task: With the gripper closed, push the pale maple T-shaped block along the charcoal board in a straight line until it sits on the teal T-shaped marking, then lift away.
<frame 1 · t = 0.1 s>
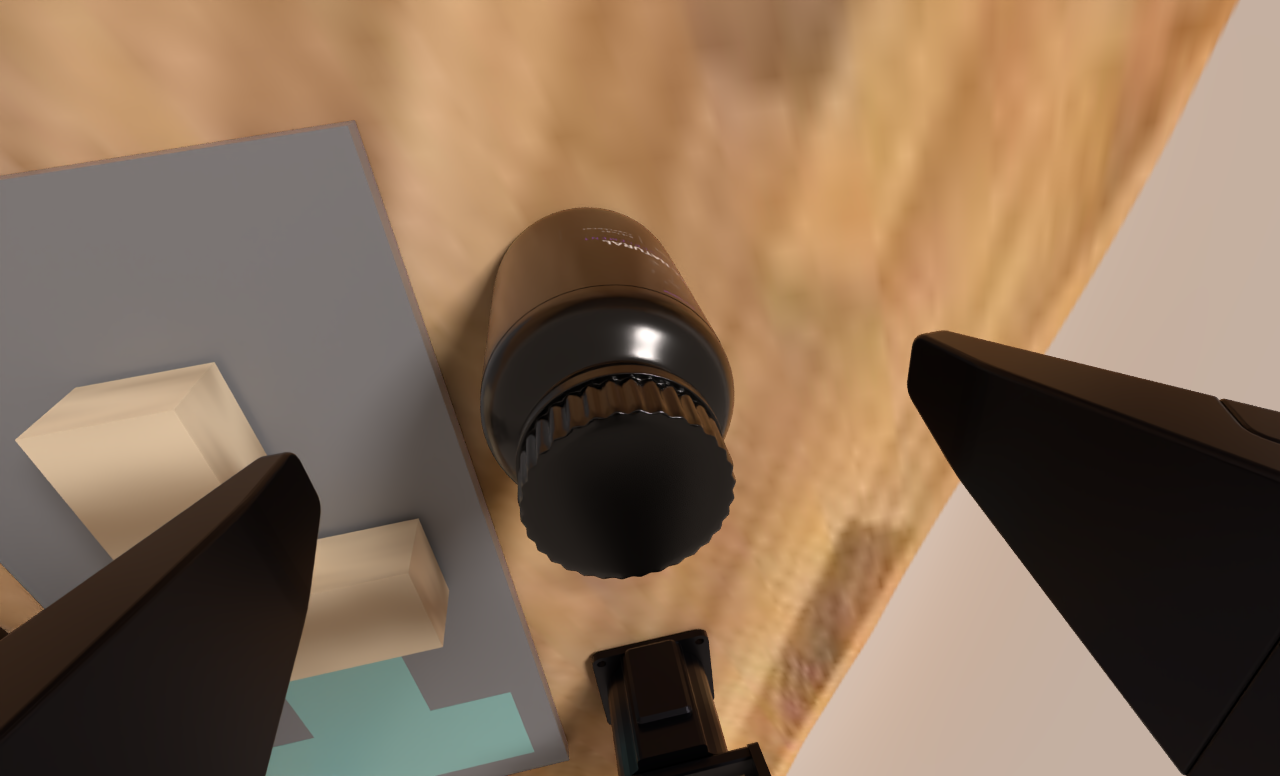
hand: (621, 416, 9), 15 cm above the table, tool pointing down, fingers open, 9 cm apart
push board: (297, 577, 28), on the table
maple T-block: (238, 510, 25), point 1 cm above the table, touching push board
supplement bottle: (583, 290, 24), on the table
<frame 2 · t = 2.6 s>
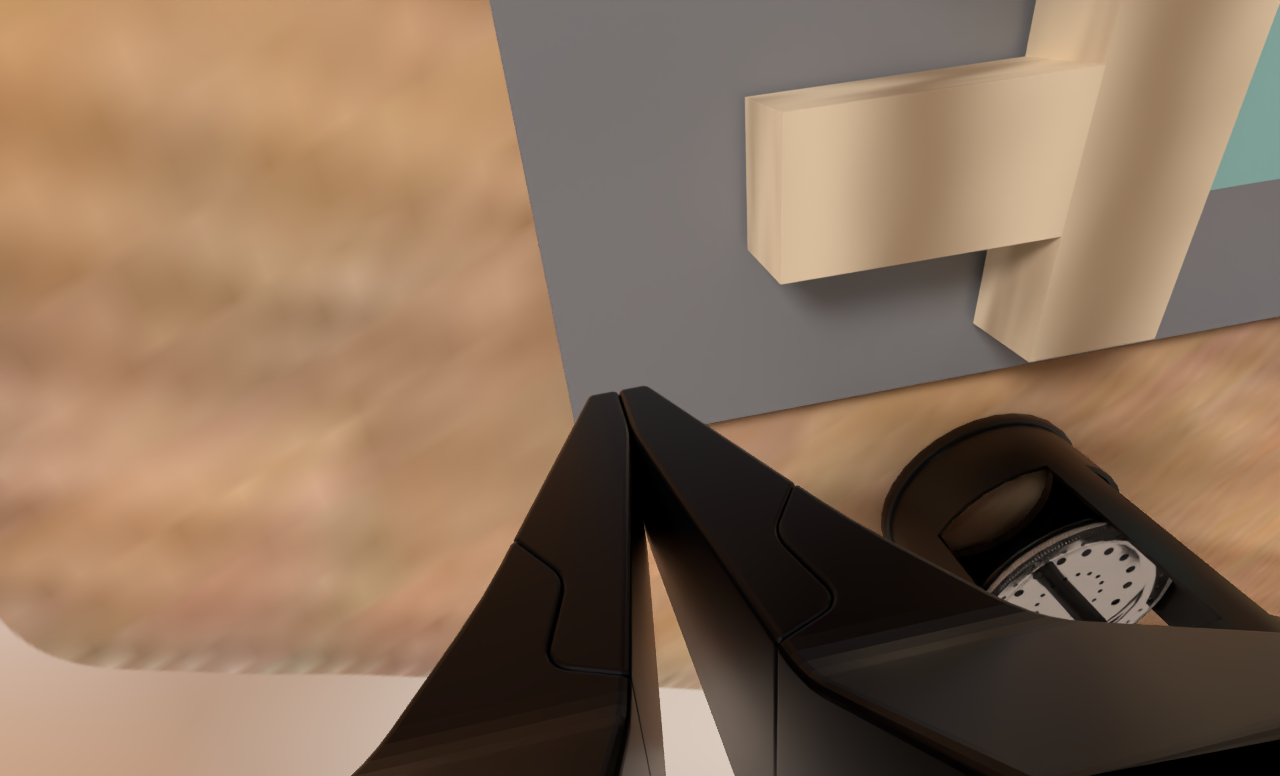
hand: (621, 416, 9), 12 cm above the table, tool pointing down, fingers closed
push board: (1067, 117, 21), on the table
maple T-block: (943, 144, 20), point 1 cm above the table, touching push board
french press: (980, 492, 30), on the table
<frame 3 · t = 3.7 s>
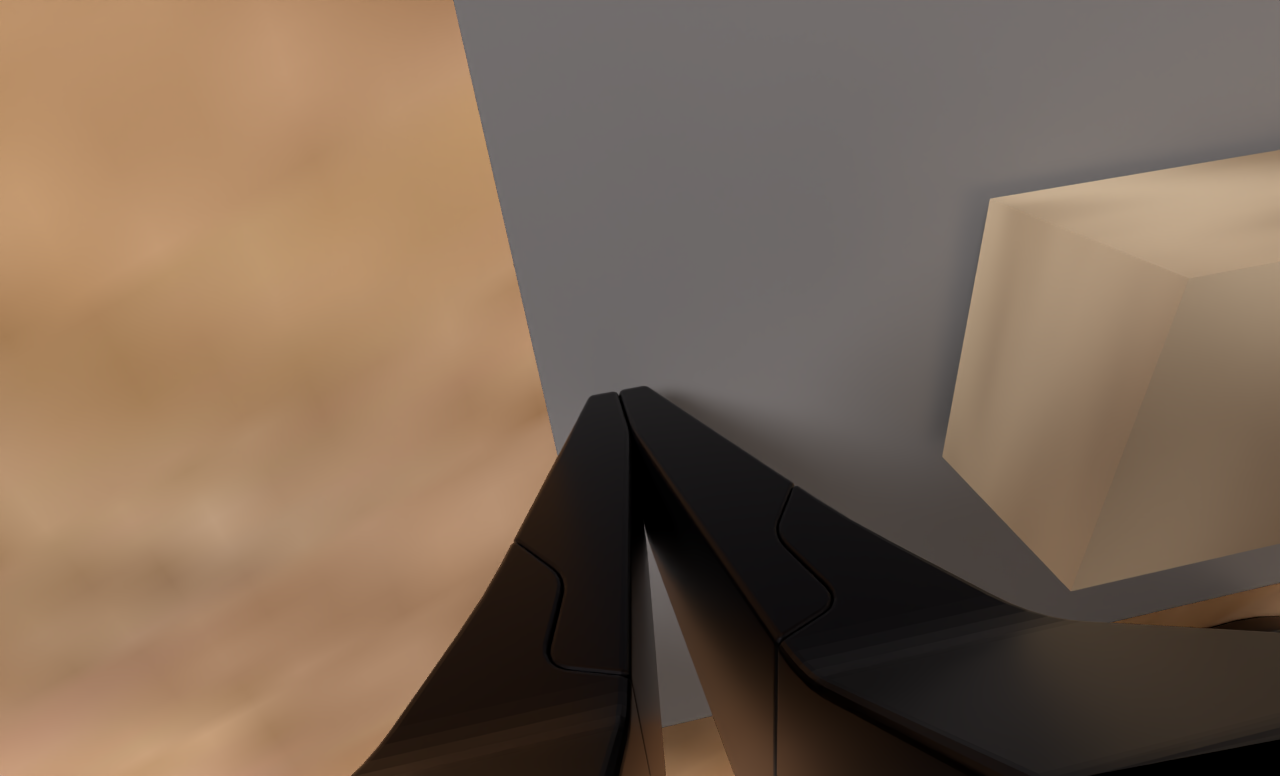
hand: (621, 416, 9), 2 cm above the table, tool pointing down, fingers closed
french press: (1183, 704, 21), on the table
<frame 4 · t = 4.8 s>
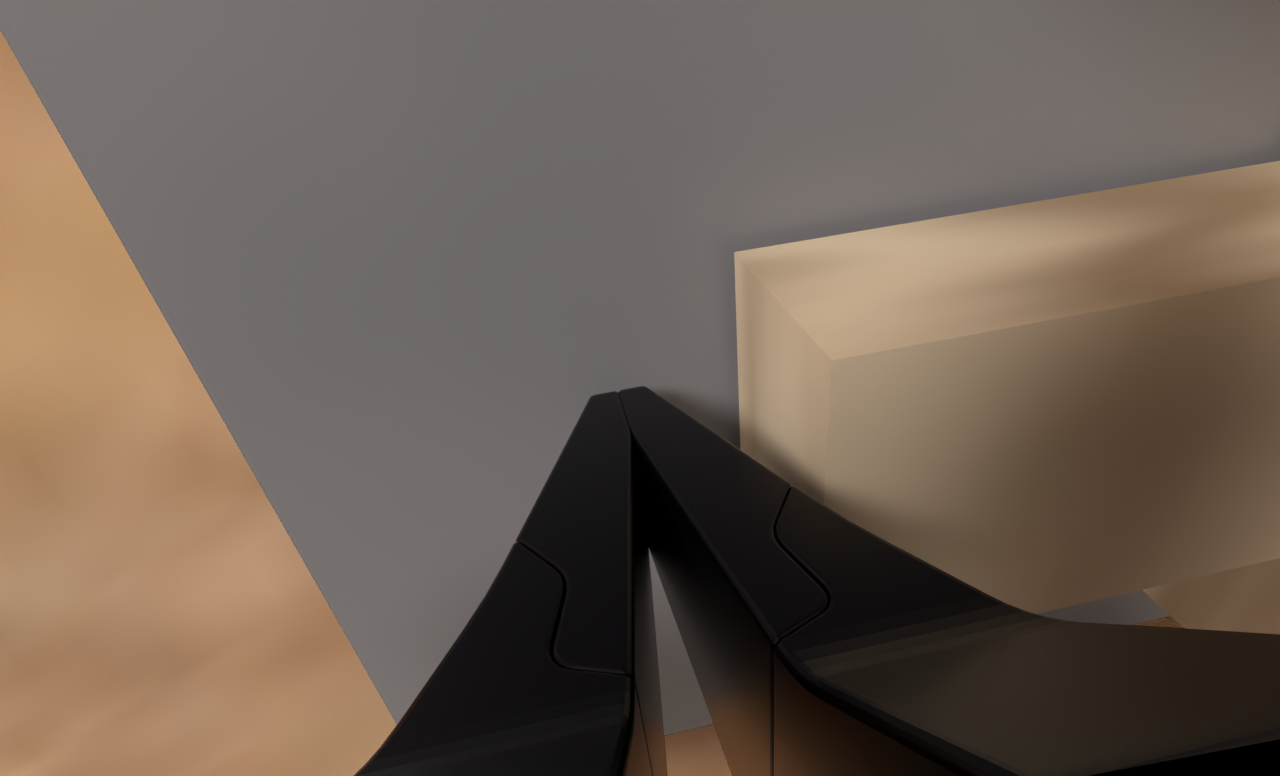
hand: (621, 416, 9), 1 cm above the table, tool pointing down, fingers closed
maple T-block: (1120, 313, 10), point 1 cm above the table, touching gripper
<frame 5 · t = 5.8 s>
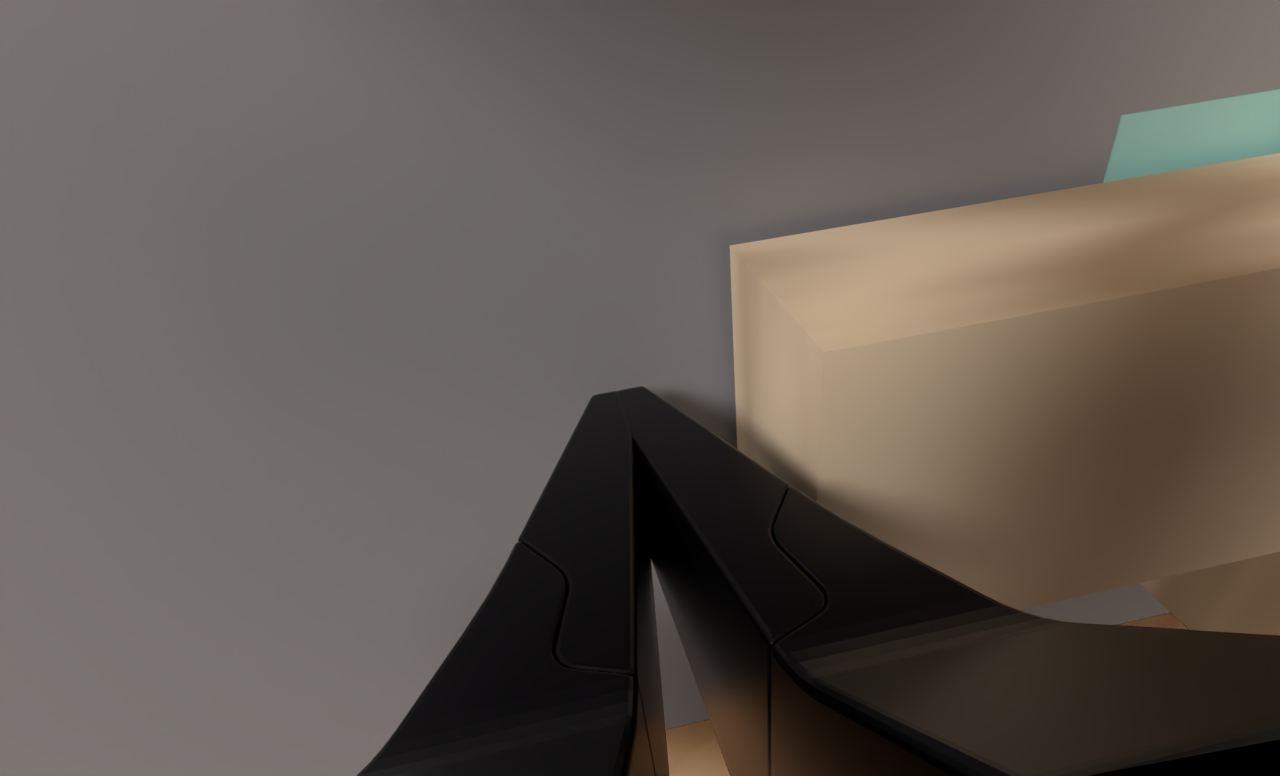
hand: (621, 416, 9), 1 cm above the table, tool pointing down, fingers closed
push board: (929, 309, 11), on the table
maple T-block: (1118, 307, 10), point 1 cm above the table, touching gripper, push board
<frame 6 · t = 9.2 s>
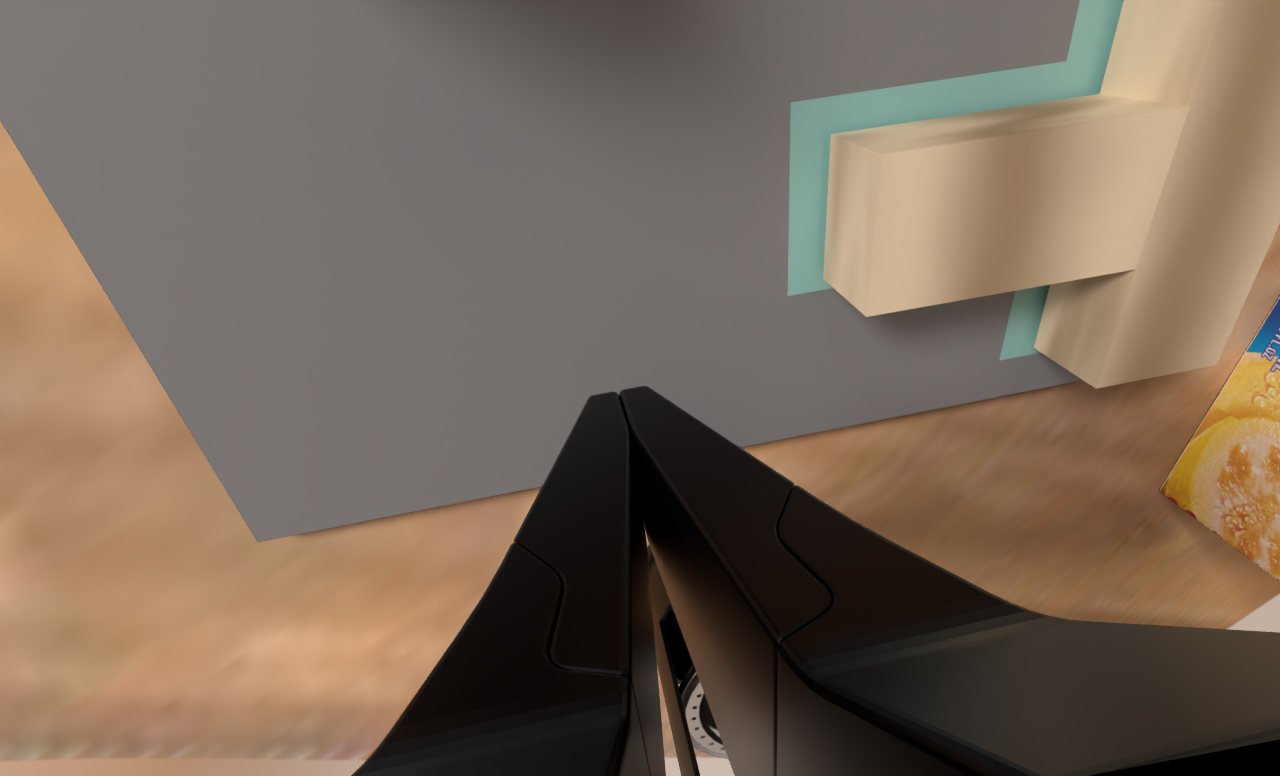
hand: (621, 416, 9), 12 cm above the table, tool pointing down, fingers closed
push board: (725, 207, 20), on the table
maple T-block: (1015, 177, 20), point 1 cm above the table, touching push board
beverage box: (1271, 394, 29), on the table
french press: (744, 564, 29), on the table
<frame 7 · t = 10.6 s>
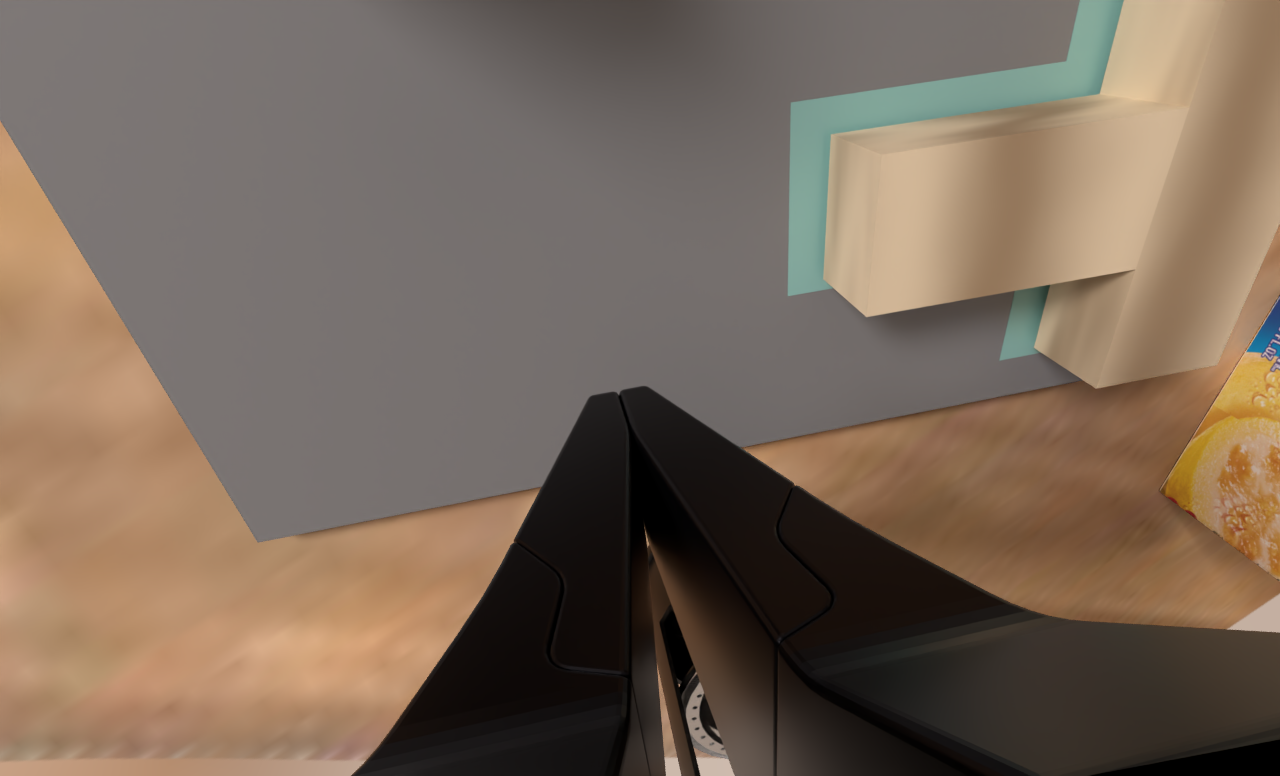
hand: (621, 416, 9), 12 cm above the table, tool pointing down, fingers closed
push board: (725, 207, 20), on the table
maple T-block: (1015, 177, 20), point 1 cm above the table, touching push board
beverage box: (1271, 394, 29), on the table
french press: (744, 564, 29), on the table
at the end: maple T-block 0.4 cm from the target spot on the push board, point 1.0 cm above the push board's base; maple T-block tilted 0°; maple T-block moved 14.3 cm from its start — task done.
